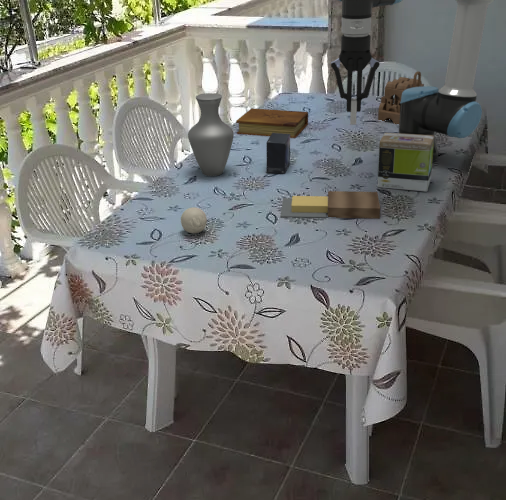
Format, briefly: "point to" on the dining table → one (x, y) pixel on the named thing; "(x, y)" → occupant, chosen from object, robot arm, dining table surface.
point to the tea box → (405, 161)
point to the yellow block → (310, 204)
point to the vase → (210, 136)
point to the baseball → (193, 220)
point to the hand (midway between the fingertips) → (353, 123)
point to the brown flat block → (353, 204)
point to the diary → (272, 122)
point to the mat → (287, 212)
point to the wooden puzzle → (396, 97)
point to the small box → (278, 153)
